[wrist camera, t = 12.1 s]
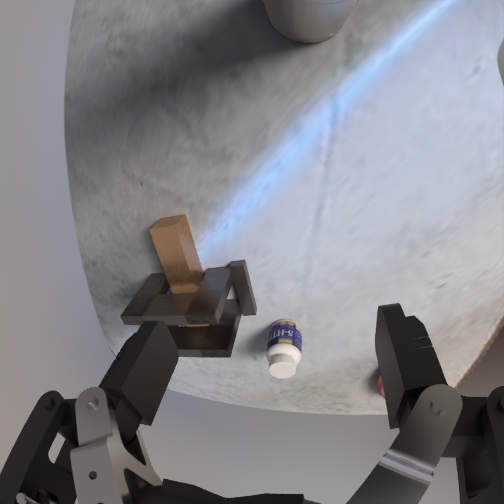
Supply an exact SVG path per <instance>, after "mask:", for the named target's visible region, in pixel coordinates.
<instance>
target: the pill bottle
mask: <svg viewBox="0 0 504 504" xmlns="http://www.w3.org/2000/svg"><path fill="white" fill-rule="evenodd" d="M301 345H302V329H301V327H300V325H299V324H298V323H297V322H295V321H293V320H289V319H283V320H279V321H277V322H275V323H274V324H273V325H272V326H271V329H270V335H269V342H268V348H267V360H268V361H269V372H270V374H271V375H273V376H274V377H277V378H289V377H292V376H293V375H294V374H295V372H296V365H297V364H298V363H299V361H300V359H301Z"/></svg>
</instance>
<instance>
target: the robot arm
mask: <svg viewBox="0 0 504 504" xmlns="http://www.w3.org/2000/svg"><path fill="white" fill-rule="evenodd" d="M357 1H358V0H263V2H264V5H265V8H266V12H267V15H268V18H269V20H270V22H271V24H272V26H273V27H274V28H275V29H276V30H277V31H278V32H279V33H281V34H282V35H283V36H285V37H287V38H289V39H291V40H294V41H297V42H303V43H317V42H322V41H325V40H327V39H330V38H331V37H333V36H334V35H336V33H337V32H338V31H339V30H340V29H341V27H342V25H343V24H344V22H345V21H346V19H347V18H348V16H349V14H350V13H351V11H352V9H353V8H354V6H355V4H356V3H357ZM375 349H376V355H377V360H378V364H379V369H380V374H381V379H382V384H383V389H384V395H385V400H386V406H387V412H388V418H389V425H390V429H393V428H399V430H400V432H399V434H398V436H397V437H396V439H395V440H394V442H393V444H392V445H391V447H390V448H389V450H388V451H387V452H386V454H385V455H384V456H383V457H382V458H381V460H380V461H379V462H378V464H377V465H376V467H375V468H374V469H373V471H372V472H371V473H370V475H369V476H368V478H367V479H366V480H365V481H364V483H363V484H362V485H361V486H360V488H359V489H358V490H357V491H356V493H355V494H354V495H353V496H352V497H351V499H350V500H349V501H348V502H347V503H346V504H418V503H419V501H420V500H421V498H422V496H423V495H424V493H425V491H426V490H427V488H428V486H429V485H430V483H431V481H432V478H433V475H434V474H433V472H434V470H435V467H436V465H437V464H438V462H439V460H440V458H441V457H456V463H457V471H458V481H459V493H460V504H504V386H500V387H498V388H496V389H494V390H493V391H492V392H491V394H490V395H489V396H488V397H466V396H462V395H460V394H459V393H458V391H457V390H455V389H454V388H453V387H451V386H449V385H448V384H447V382H446V380H445V377H444V374H443V371H442V368H441V366H440V363H439V360H438V358H437V355H436V353H435V350H434V348H433V347H432V343H431V340H430V338H429V336H428V333H427V331H426V328H425V326H424V324H423V323H422V322H421V321H420V320H418V319H417V318H416V317H415V316H408V317H405V315H404V312H403V310H402V307H401V305H400V304H399V303H396V304H389V305H382V306H379V307H378V312H377V324H376V334H375ZM178 357H179V354H178V348H177V346H176V344H175V342H174V340H173V338H172V336H171V334H170V332H169V330H168V328H167V325H166V324H165V322H164V321H161V320H158V321H144V322H143V323H142V325H141V326H140V328H139V330H138V331H137V333H134V334H133V335H132V336H131V337H130V338H129V339H128V340H126V342H125V343H124V345H123V347H122V348H121V350H120V352H119V353H118V355H117V356H116V360H114V361H113V363H112V365H111V366H110V368H109V370H108V371H107V373H106V375H105V376H104V378H103V380H102V381H101V383H100V385H99V387H91V388H88V389H86V390H84V391H83V392H82V393H81V394H80V395H79V396H78V398H77V399H64V398H63V397H62V396H61V395H60V393H59V392H57V391H49V392H47V393H45V394H43V395H42V396H41V398H40V399H39V400H38V402H37V404H36V406H35V407H34V409H33V411H32V413H31V414H30V416H29V418H28V420H27V422H26V423H25V425H24V427H23V429H22V431H21V433H20V435H19V437H18V438H17V440H16V442H15V445H14V446H13V448H12V450H11V452H10V454H9V456H8V459H7V461H6V463H5V465H4V467H3V469H2V472H1V474H0V504H74V503H75V500H76V498H77V499H78V503H79V504H320V503H317V502H313V501H309V500H305V499H304V495H303V494H267V493H265V494H259V495H252V496H244V497H235V498H225V497H222V496H219V495H217V494H214V493H212V492H209V491H207V490H204V489H202V488H200V487H197V486H195V485H191V484H186V483H181V482H177V481H172V480H168V479H163V482H162V481H161V479H160V478H159V476H158V475H157V474H156V473H155V471H154V469H153V467H152V465H151V462H150V459H149V457H148V454H147V451H146V448H145V445H144V442H143V439H142V436H141V433H140V431H139V430H138V427H139V425H140V424H144V425H149V426H151V424H152V422H153V420H154V417H155V415H156V412H157V410H158V407H159V405H160V403H161V400H162V398H163V395H164V393H165V391H166V388H167V386H168V383H169V381H170V379H171V376H172V374H173V372H174V369H175V367H176V364H177V362H178ZM57 433H59V434H60V435H62V436H63V437H64V438H65V441H64V444H63V446H62V448H61V450H60V452H59V455H58V457H57V459H56V461H55V463H54V464H53V463H52V462H51V461H50V460H49V457H48V452H49V450H50V447H51V445H52V443H53V441H54V439H55V437H56V435H57Z"/></svg>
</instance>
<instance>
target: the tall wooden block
mask: <svg viewBox="0 0 504 504" xmlns="http://www.w3.org/2000/svg"><path fill="white" fill-rule="evenodd" d="M149 231H150V234H151V236H152V239H153V242H154V245H155V248H156V251H157V253H158V256H159V259H160V262H161V264H162V267H163V270H164V272H165V275H166V278H167V280H168V283H169V285H170V288H171V290H172V293H173V294H179V293H195V292H196V291H197V289H198V287H199V285H200V283H201V281H202V279H203V277H204V273H203V270H202V267H201V264H200V261H199V257H198V254H197V251H196V248H195V244H194V241H193V238H192V234H191V231H190V228H189V224H188V221H187V217H186V214H182V215H177V216H171V217H166V218H161V219H160V220H159V221H158V222H157V223H155V224H154V225H153V226H152V227H151V228H150V229H149ZM186 326H209V324H203V325H186Z"/></svg>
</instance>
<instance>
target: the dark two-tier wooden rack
mask: <svg viewBox="0 0 504 504" xmlns="http://www.w3.org/2000/svg"><path fill="white" fill-rule="evenodd" d="M233 281H234V284H235V288H236V292H237V295H238V299H230V300H227V297H228V294H229V291H230V288H231V285H232V282H233ZM169 288H170V285H169V283H168V280H167V278H166V275H165V273H154V274H151V275H150V276H149V278H148V279H147V280H146V282H145V283H144V284H143V286H142V287H141V288H140V290H139V291H138V292H137V294H136V295H135V296H134V298H133V299H132V301H131V302H130V303H129V305H128V306H127V307H126V309H125V310H124V312H123V313H122V314H121V316H120V317H121V319H122V321H123V322H124V324H125V325H142V323H143V322H144V321H158V320H161V321H164V322H165V324H166V325H167V328H168V330H169V332H170V334H171V336H172V338H173V340H174V342H175V344H176V346H177V348H178V354H179V357H231V353H232V349H233V345H234V341H235V338H236V334H237V330H238V326H239V322H240V319H241V315H242V313H243V316H248V315H256V311H257V307H256V303H255V299H254V295H253V291H252V286H251V282H250V278H249V274H248V270H247V266H246V261H245V260H240V261H232V262H231V265H230V266H226V267H216V268H208V270H207V271H206V273H205V275H204V277H203V279H202V281H201V283H200V285H199V287H198V289H197V291H196V292H195V293H179V294H166V293H167V292H168V290H169ZM203 324H209V326H184V327H178V325H203Z"/></svg>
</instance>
